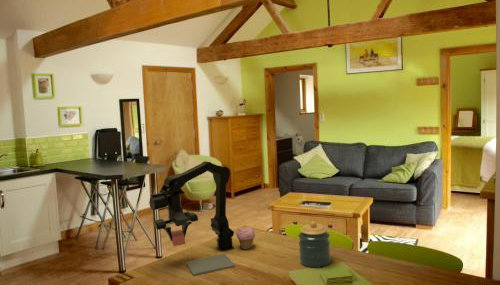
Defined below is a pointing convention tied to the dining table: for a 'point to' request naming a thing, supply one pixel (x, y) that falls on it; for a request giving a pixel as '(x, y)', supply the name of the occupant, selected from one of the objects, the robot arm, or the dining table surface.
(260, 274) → the dining table surface
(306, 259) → the canister
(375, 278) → the dining table surface
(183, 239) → the red block
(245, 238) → the cupcake
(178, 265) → the dining table surface
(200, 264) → the mat
